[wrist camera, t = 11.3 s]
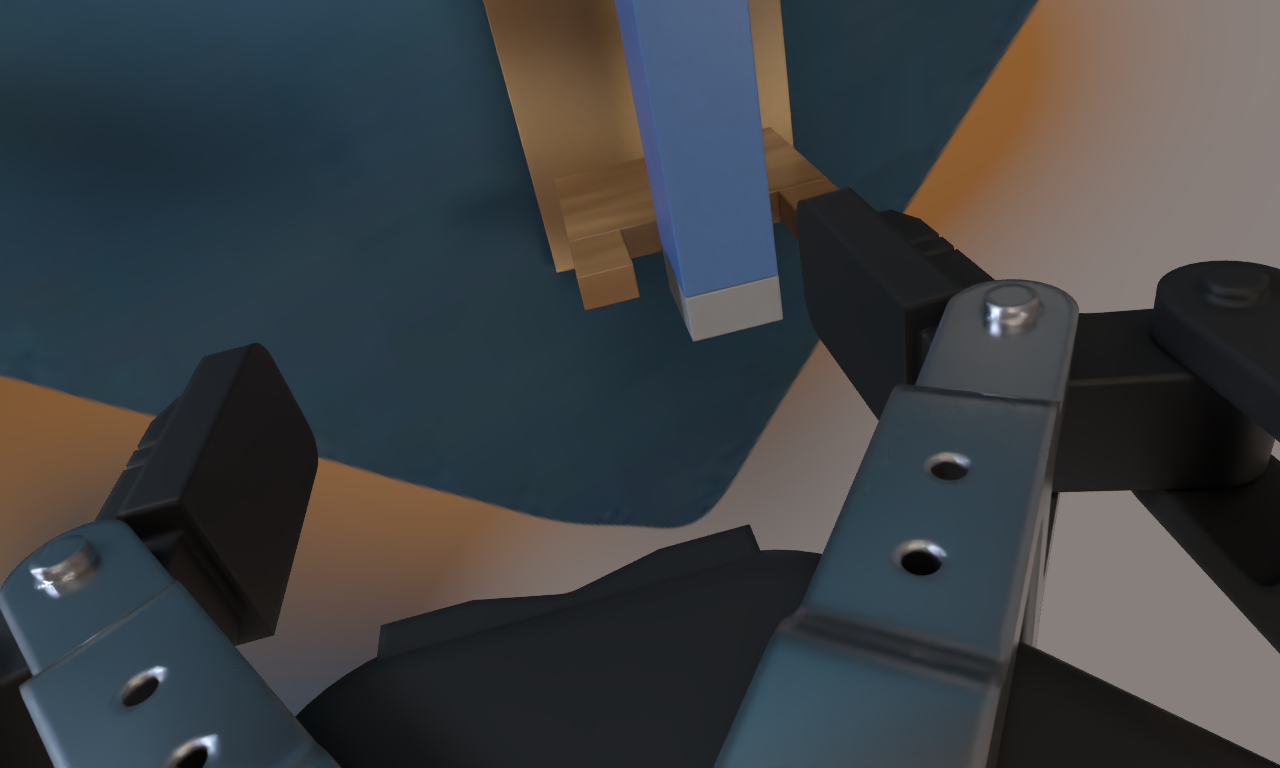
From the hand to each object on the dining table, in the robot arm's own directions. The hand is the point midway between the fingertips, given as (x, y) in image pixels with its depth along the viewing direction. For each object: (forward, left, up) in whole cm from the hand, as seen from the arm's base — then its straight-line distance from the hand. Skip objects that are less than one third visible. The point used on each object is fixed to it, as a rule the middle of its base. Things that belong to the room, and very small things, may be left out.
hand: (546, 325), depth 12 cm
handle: (-1, +5, -16) cm, 16 cm away
